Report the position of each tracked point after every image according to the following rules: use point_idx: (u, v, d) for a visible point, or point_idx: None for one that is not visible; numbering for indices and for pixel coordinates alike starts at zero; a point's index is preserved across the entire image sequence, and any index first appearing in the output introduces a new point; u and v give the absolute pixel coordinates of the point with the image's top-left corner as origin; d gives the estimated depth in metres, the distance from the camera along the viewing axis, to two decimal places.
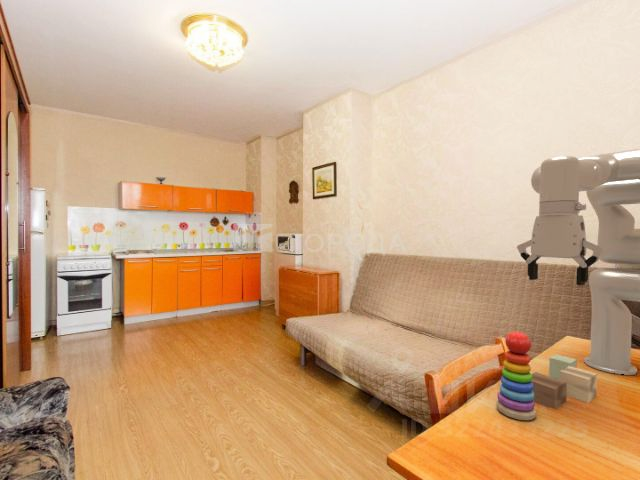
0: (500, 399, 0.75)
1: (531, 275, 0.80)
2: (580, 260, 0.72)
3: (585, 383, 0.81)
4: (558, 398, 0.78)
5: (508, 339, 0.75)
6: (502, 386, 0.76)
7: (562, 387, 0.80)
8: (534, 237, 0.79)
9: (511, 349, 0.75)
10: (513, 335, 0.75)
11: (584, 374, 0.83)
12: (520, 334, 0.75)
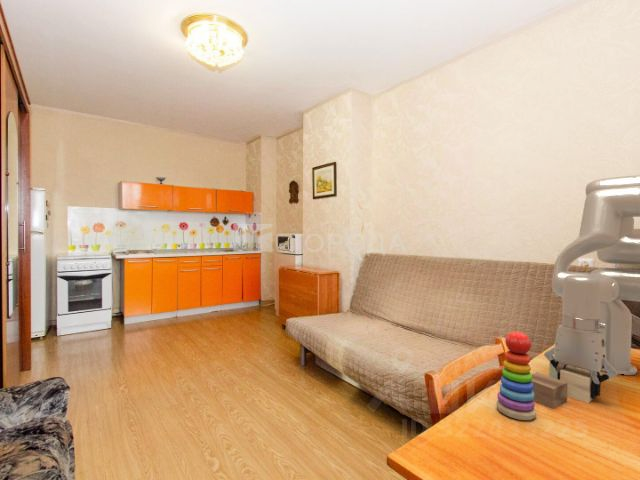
0: (500, 399, 0.75)
1: None
2: (595, 376, 0.81)
3: (585, 382, 0.81)
4: (557, 398, 0.78)
5: (508, 339, 0.75)
6: (502, 386, 0.76)
7: (562, 387, 0.80)
8: (557, 345, 0.86)
9: (511, 349, 0.75)
10: (513, 335, 0.75)
11: (584, 374, 0.83)
12: (520, 334, 0.75)
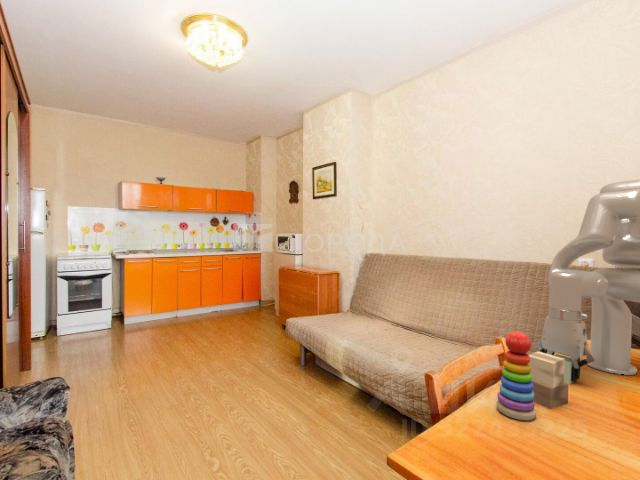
0: (500, 399, 0.75)
1: None
2: (575, 362, 0.90)
3: (550, 367, 0.78)
4: (555, 399, 0.78)
5: (508, 339, 0.75)
6: (502, 386, 0.76)
7: (562, 388, 0.79)
8: (544, 334, 0.96)
9: (511, 349, 0.75)
10: (513, 335, 0.75)
11: (551, 359, 0.80)
12: (520, 334, 0.75)
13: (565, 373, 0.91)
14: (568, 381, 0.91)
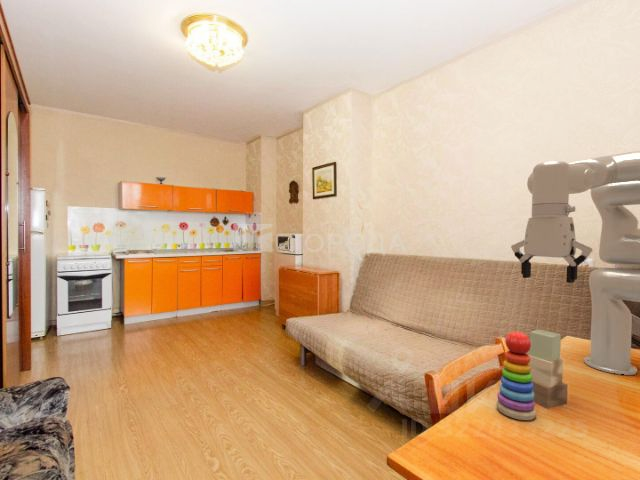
0: (500, 399, 0.75)
1: (524, 273, 0.85)
2: (570, 259, 0.77)
3: (548, 366, 0.78)
4: (553, 399, 0.78)
5: (508, 339, 0.75)
6: (502, 386, 0.76)
7: (560, 388, 0.79)
8: (527, 237, 0.84)
9: (511, 349, 0.75)
10: (513, 335, 0.75)
11: None
12: (520, 334, 0.75)
13: (547, 349, 0.79)
14: (550, 358, 0.79)
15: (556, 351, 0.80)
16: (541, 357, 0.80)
